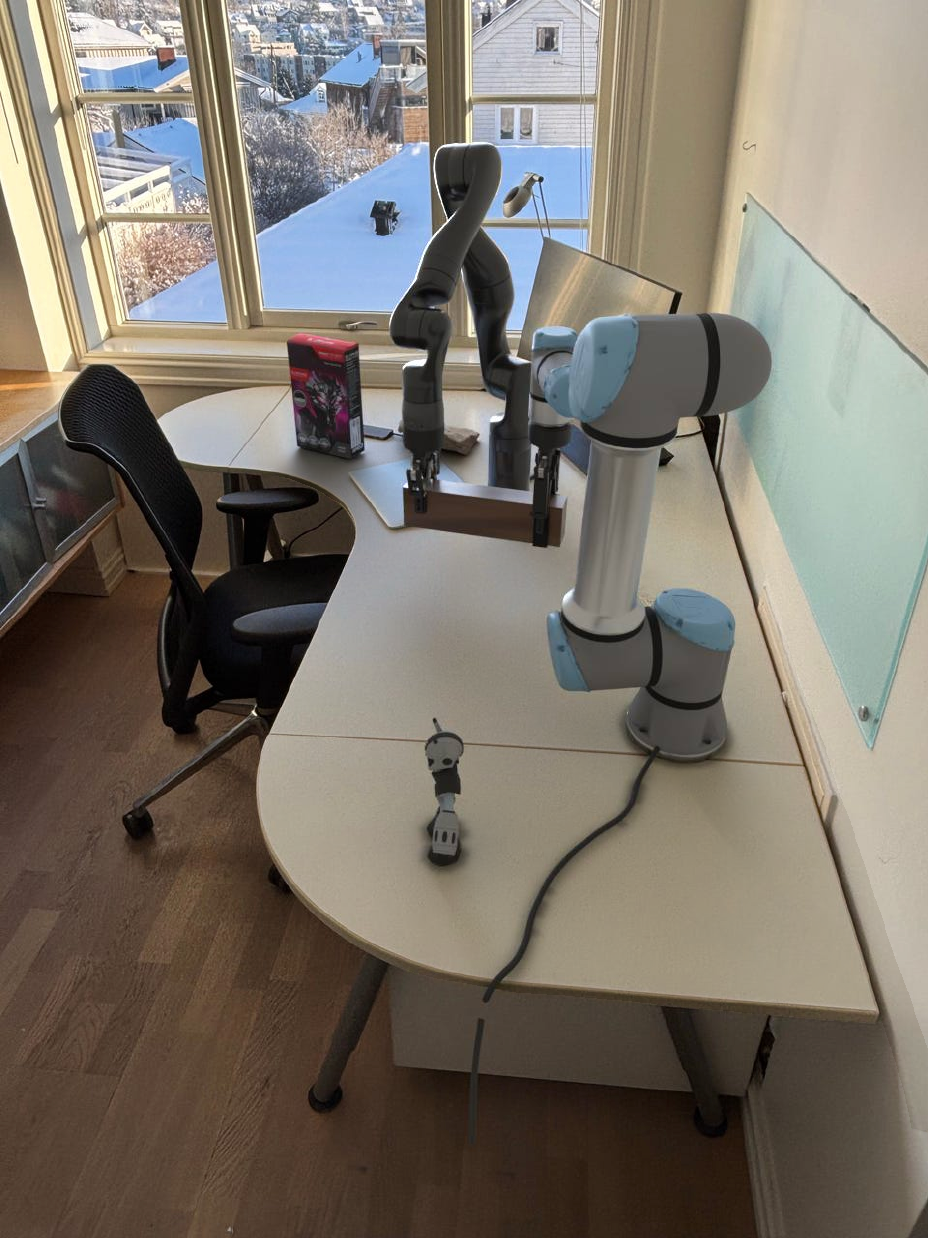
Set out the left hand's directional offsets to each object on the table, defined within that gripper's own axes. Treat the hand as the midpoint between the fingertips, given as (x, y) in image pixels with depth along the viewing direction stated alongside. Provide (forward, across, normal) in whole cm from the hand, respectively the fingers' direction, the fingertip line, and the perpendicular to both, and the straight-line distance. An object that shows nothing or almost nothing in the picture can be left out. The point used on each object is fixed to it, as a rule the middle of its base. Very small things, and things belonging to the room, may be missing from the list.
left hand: (425, 505), depth 174 cm
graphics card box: (+14, +50, +41) cm, 66 cm away
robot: (+14, -67, -23) cm, 72 cm away
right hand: (+4, 0, -23) cm, 23 cm away
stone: (+15, +61, +17) cm, 65 cm away
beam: (+3, 0, -12) cm, 12 cm away
